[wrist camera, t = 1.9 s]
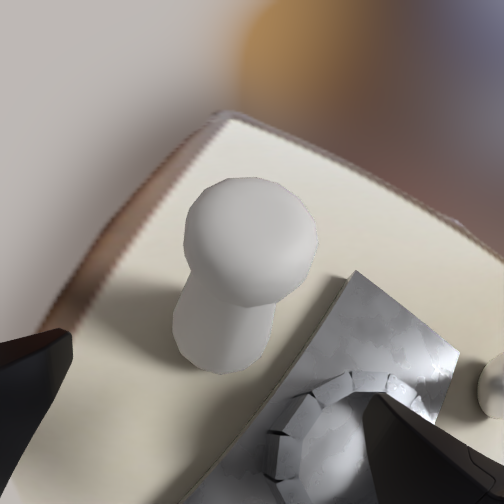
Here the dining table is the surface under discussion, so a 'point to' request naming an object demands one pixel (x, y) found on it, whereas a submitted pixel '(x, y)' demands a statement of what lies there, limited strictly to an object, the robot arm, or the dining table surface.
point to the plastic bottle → (492, 388)
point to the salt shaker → (240, 270)
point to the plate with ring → (332, 406)
